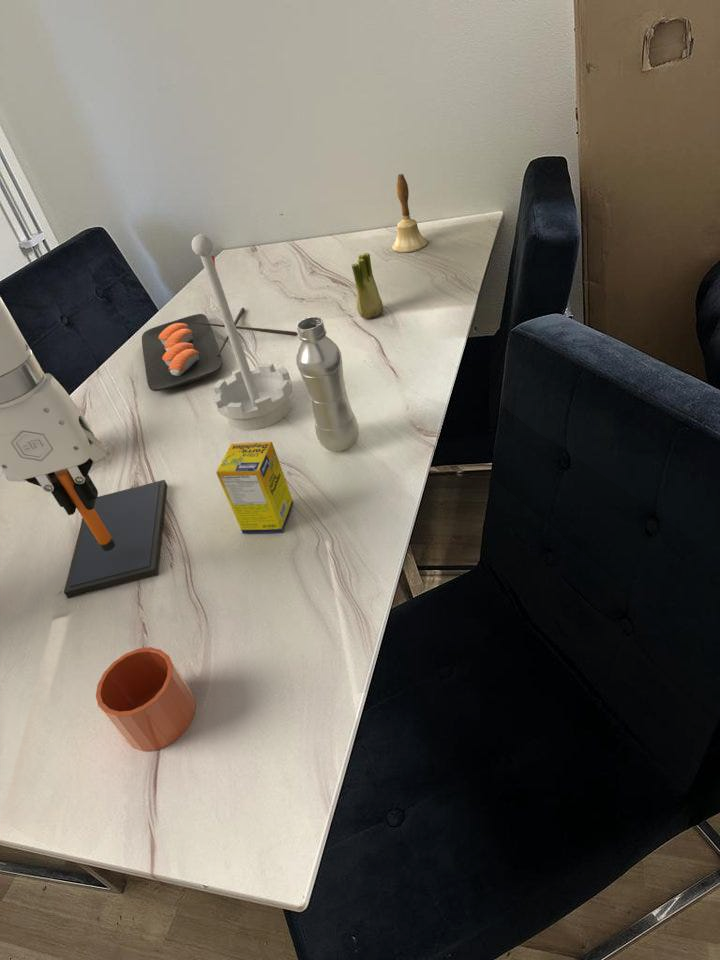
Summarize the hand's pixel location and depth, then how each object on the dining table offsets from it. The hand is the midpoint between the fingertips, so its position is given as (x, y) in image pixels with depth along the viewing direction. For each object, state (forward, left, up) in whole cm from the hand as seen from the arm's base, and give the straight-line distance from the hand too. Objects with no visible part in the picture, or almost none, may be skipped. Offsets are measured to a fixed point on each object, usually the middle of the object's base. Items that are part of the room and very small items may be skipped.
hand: (82, 504), depth 83 cm
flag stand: (+21, +29, -11) cm, 37 cm away
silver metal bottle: (+33, +14, -11) cm, 37 cm away
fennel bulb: (+45, +54, -11) cm, 71 cm away
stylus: (0, 0, -8) cm, 8 cm away
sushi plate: (+14, +58, -11) cm, 61 cm away
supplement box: (+21, +1, -11) cm, 23 cm away
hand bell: (+60, +85, -11) cm, 105 cm away
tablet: (0, +5, -11) cm, 12 cm away
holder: (+8, -26, -11) cm, 29 cm away
